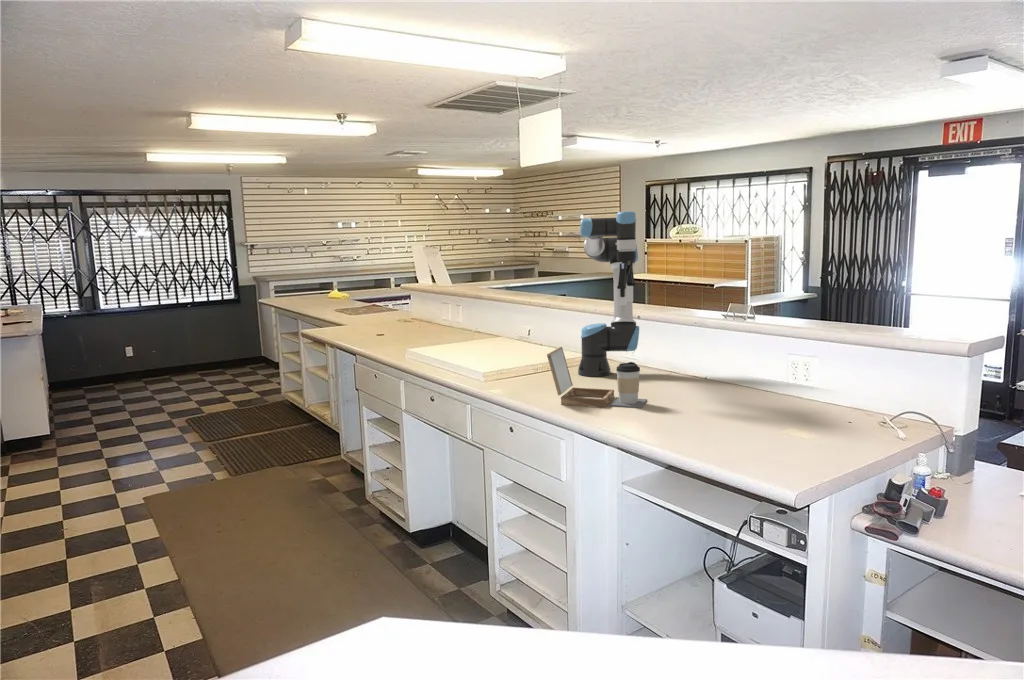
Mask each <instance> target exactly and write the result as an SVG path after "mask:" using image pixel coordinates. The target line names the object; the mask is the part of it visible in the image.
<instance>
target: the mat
mask: <svg viewBox="0 0 1024 680" xmlns="http://www.w3.org/2000/svg"><path fill="white" fill-rule="evenodd" d="M614 398H615V399H614ZM614 398H613V399H612V401H611V403H610V404H609V407H614V408H615V407H619V408H631V409H642V408H643V407H644V405H645V404H646V403H647V401H648V399H647V398H638V401H637V403H634V404H623V403H620V402H619V396H618V397H617V396H616V397H614Z"/></svg>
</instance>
